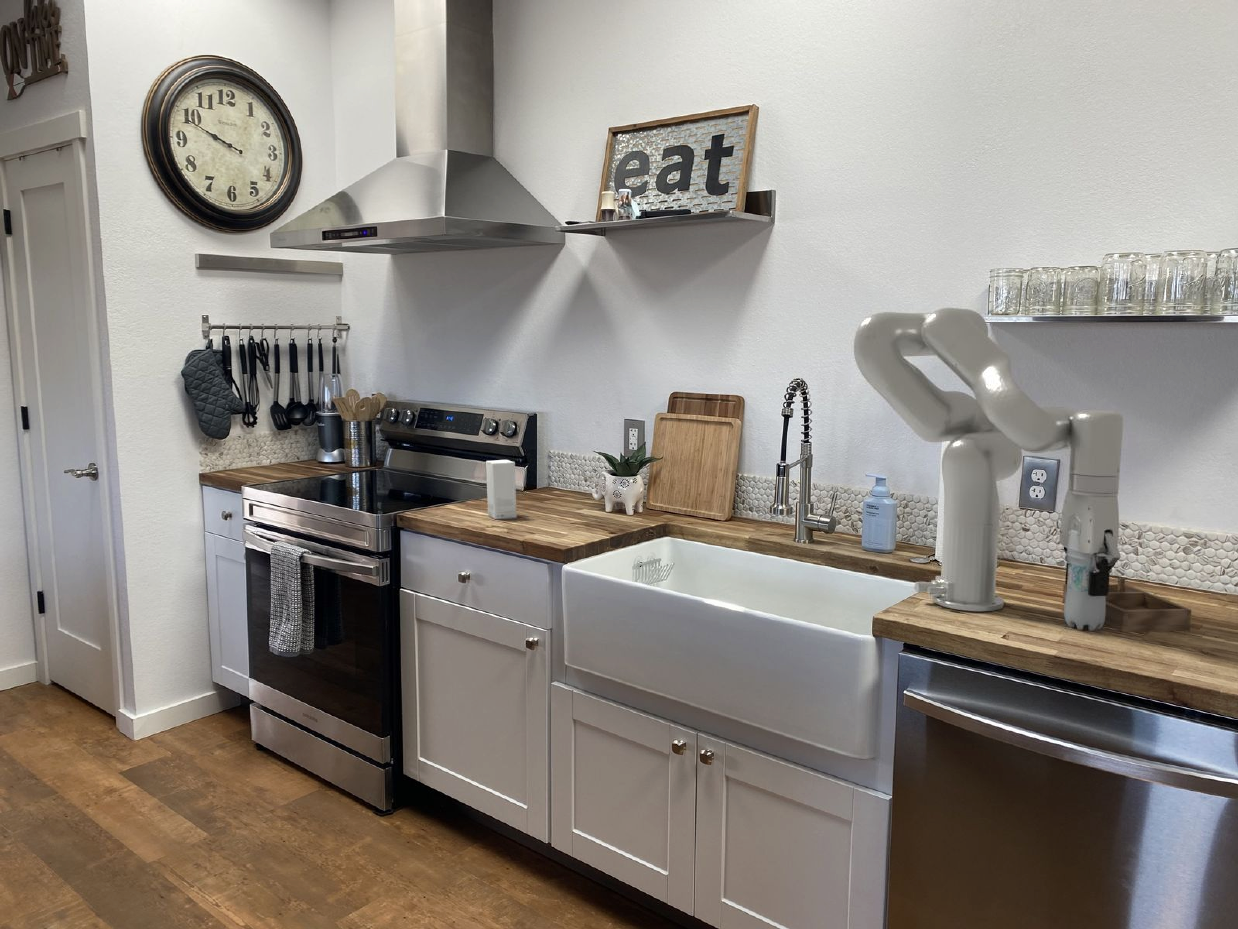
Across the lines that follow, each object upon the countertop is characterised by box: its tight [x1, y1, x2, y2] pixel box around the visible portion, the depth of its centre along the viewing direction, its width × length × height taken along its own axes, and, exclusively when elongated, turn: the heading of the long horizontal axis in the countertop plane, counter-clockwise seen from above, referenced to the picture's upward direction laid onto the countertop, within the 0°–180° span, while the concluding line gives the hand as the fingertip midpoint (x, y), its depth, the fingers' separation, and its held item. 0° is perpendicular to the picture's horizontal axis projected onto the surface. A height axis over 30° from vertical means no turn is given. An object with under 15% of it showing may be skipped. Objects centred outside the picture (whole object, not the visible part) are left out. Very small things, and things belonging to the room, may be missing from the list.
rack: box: [1062, 577, 1192, 633], centre depth 166 cm, size 12×18×5 cm, turn 5°
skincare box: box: [485, 459, 518, 520], centre depth 259 cm, size 8×7×16 cm
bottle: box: [1063, 530, 1106, 632], centre depth 158 cm, size 7×7×20 cm
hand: (1086, 589), depth 159 cm, fingers closed on bottle, 5 cm apart
